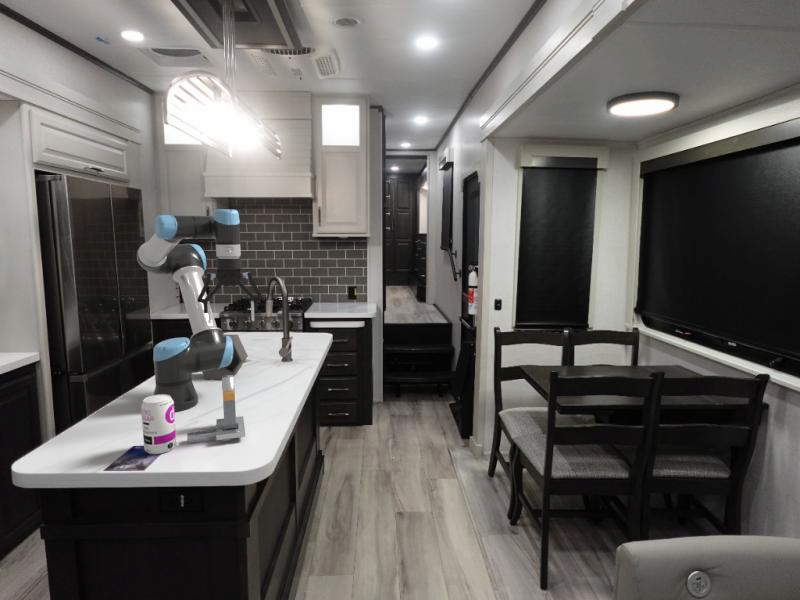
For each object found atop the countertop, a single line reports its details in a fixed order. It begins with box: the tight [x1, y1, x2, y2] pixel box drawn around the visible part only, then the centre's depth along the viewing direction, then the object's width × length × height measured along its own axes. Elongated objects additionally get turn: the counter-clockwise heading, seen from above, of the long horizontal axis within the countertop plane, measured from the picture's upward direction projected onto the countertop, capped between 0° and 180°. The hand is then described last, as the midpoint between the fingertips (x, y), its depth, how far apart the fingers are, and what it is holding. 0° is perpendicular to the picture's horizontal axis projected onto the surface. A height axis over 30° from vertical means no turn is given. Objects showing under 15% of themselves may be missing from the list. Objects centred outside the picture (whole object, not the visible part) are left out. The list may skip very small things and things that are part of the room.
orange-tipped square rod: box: [222, 390, 237, 440], centre depth 145 cm, size 3×3×14 cm
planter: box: [201, 333, 248, 380], centre depth 203 cm, size 17×8×21 cm
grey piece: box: [186, 375, 246, 445], centre depth 147 cm, size 16×17×16 cm
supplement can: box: [140, 394, 177, 455], centre depth 137 cm, size 8×8×15 cm
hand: (231, 321), depth 160 cm, fingers open, 13 cm apart
